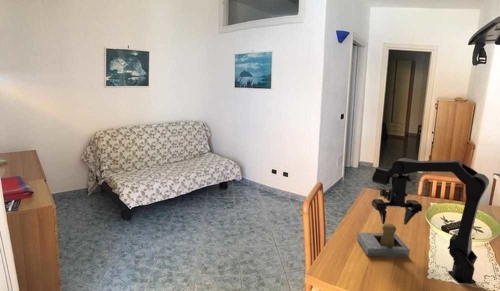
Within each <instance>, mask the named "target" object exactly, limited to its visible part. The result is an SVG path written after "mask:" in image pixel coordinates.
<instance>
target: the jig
mask: <svg viewBox="0 0 500 291" xmlns="http://www.w3.org/2000/svg"><path fill="white" fill-rule="evenodd" d="M382 235H383V232H382V233H380V232H379V233H377V232H357V235H356V236H357V237H356V240H357V242H358V244H359V245H360V247H361V248H362V250H363V252H364V253H365V255H366V256H367V257H385V258H386V257H387V258H410V252H411V249H410V247H408V246H407V245H406V243H405V242H404V241H403V240H402V239H401V238H400V237H399V235H397V233H394V247H393V246H381V245H380V241H381V238H382Z"/></svg>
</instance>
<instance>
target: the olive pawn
mask: <svg viewBox="0 0 500 291" xmlns="http://www.w3.org/2000/svg"><path fill="white" fill-rule="evenodd" d="M382 231H383V232H382V233H383V235H382V238H381V241H380V243H379V244H380V245H381V246H393V247H395V246H394V234H396V232H397V228H396V226H395V225H394V224H392V223H386V222H385V223H384V224H382Z"/></svg>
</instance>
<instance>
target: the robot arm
mask: <svg viewBox="0 0 500 291" xmlns="http://www.w3.org/2000/svg"><path fill="white" fill-rule="evenodd" d="M418 172H422V173H425V172H426V173H427V172H430V173H433V172H435V173H437V172H439V173H440V172H441V173H442V172H443V173H445V172H447V173H453V175H455V176H456V178H457V179H458V180H459V181H460V182H461V183H462V184H464V187H465V189H464V190H465V191H464V193H465V203H464V207H463V211H462V215H461V218H460V224H459V228H458V231H457V233H453V235H451V237H450V238H449V246H447V250H448V253H449V255H450V256H451V257H452V259H453V264H452V270H448V271H447V273H448V274H449V275H450V276H451V278H453V280H455V281H456V282H457V283H459V284H476V283H477V282H476V280H475V279H474V278H473V277H474V273H475V264H476V261H477V259H478V256H477V255H476V254H475V252H474V251H473V250H472V249H473V248H472V247H473V245H472V244H473V240H472V233H473V229H474V225H475V221H476V217H477V213H478V209H479V205H480V202H481V200H482V198H483V195H484V194H485V192H486V190H487V188H488V186H489V184H490V179H489V178H488V177H487V175H485V174H484V173H480V172H477V171H476V170H475V169H474V168H471V167H470V166H468V165H466V164H465V163H464V162H462V161H461V160H459V159H452V160H416V159H412V158H406V157H405V158H404V157H402V158H400V159H397V160H395V161H393V163H392V165H391V168H390V169H385V168H381V167H376V168H375V171H374V172H373V175H372V176H371V178H372V181H371V182H372V183H374V184H378V185H381V186H386V187H388V186H389V185H391V187H390V188H389V189H388V191H387V189H383V188H381V189H380V190H379V196H380V197H381V198H379V199H378V198H373V199H372V201H371V206H372V207H373V209H375V210H376V211H378V213H379V216H380V220H381V223H382V225H384V224H386V219H387V209H388V208H404V209H405V210H404V211H405V213H404V219H403V224H404V225H407V224H408V223H409V222H410V221H411V219H412V218H413V217H414V216H415V215H416V214H419V212H422V211H423V205H422V204H421V203H420V202H419V201H418V200H416V199H406V198H407V197H408V193H407V191H408V190H407V188H408V183H411V182H413V181H414V180H415V178H414V177H413V176H412V175H411V174H412V173H413V174H414V173H418ZM382 198H383V199H382ZM384 200H386V201H384Z"/></svg>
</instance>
